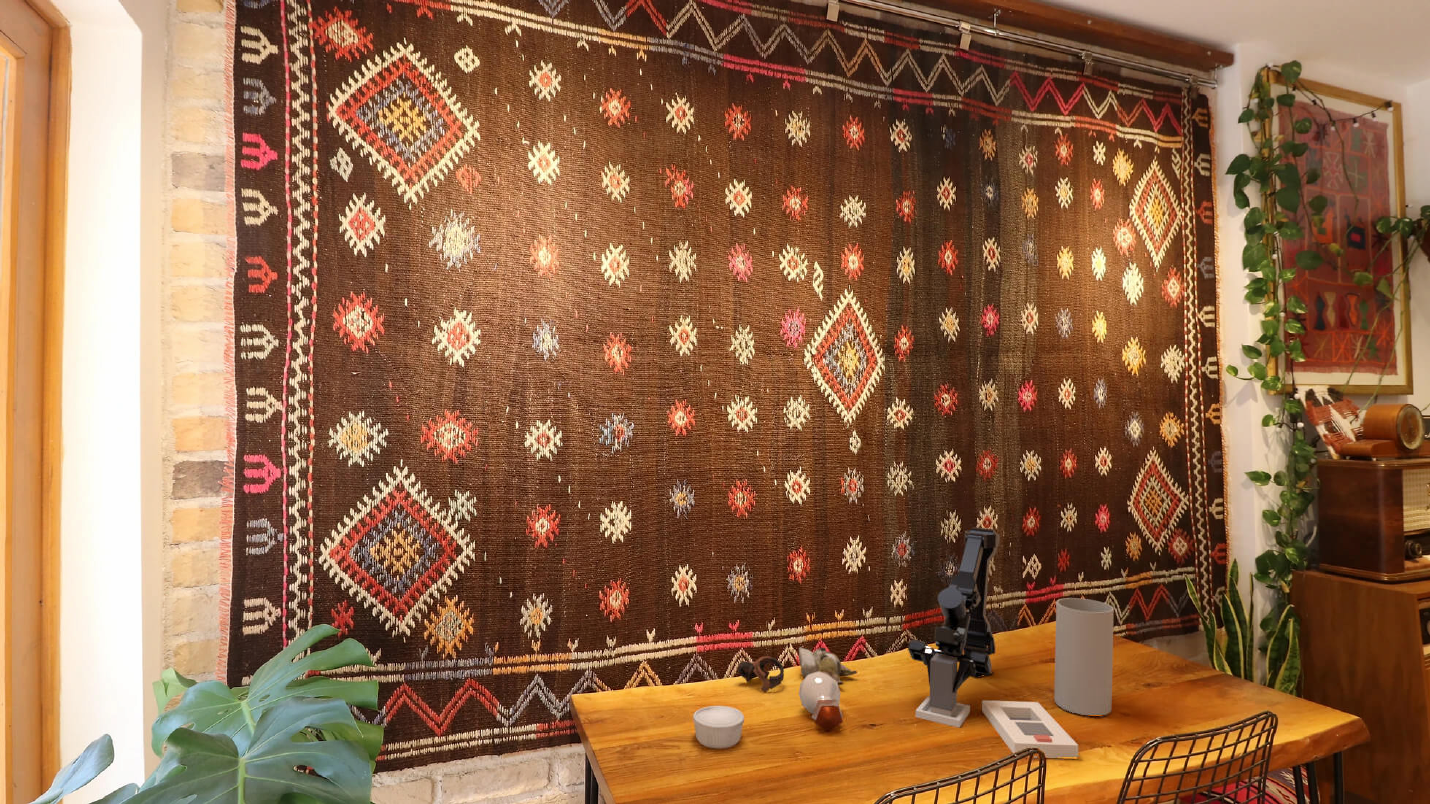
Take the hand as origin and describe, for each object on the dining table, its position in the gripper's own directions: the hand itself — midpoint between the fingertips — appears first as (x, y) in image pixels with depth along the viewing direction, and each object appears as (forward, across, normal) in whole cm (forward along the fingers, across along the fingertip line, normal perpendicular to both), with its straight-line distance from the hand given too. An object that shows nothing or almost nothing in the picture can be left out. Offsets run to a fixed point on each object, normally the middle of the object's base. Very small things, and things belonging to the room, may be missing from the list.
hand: (942, 689), depth 176 cm
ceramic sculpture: (0, -33, +10) cm, 34 cm away
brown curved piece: (+9, -45, +1) cm, 46 cm away
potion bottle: (+16, -23, -6) cm, 29 cm away
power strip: (+3, +18, +6) cm, 20 cm away
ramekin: (+32, -38, -22) cm, 54 cm away
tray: (+4, 0, +6) cm, 7 cm away
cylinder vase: (-13, +27, +23) cm, 38 cm away
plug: (+3, 0, +5) cm, 6 cm away
